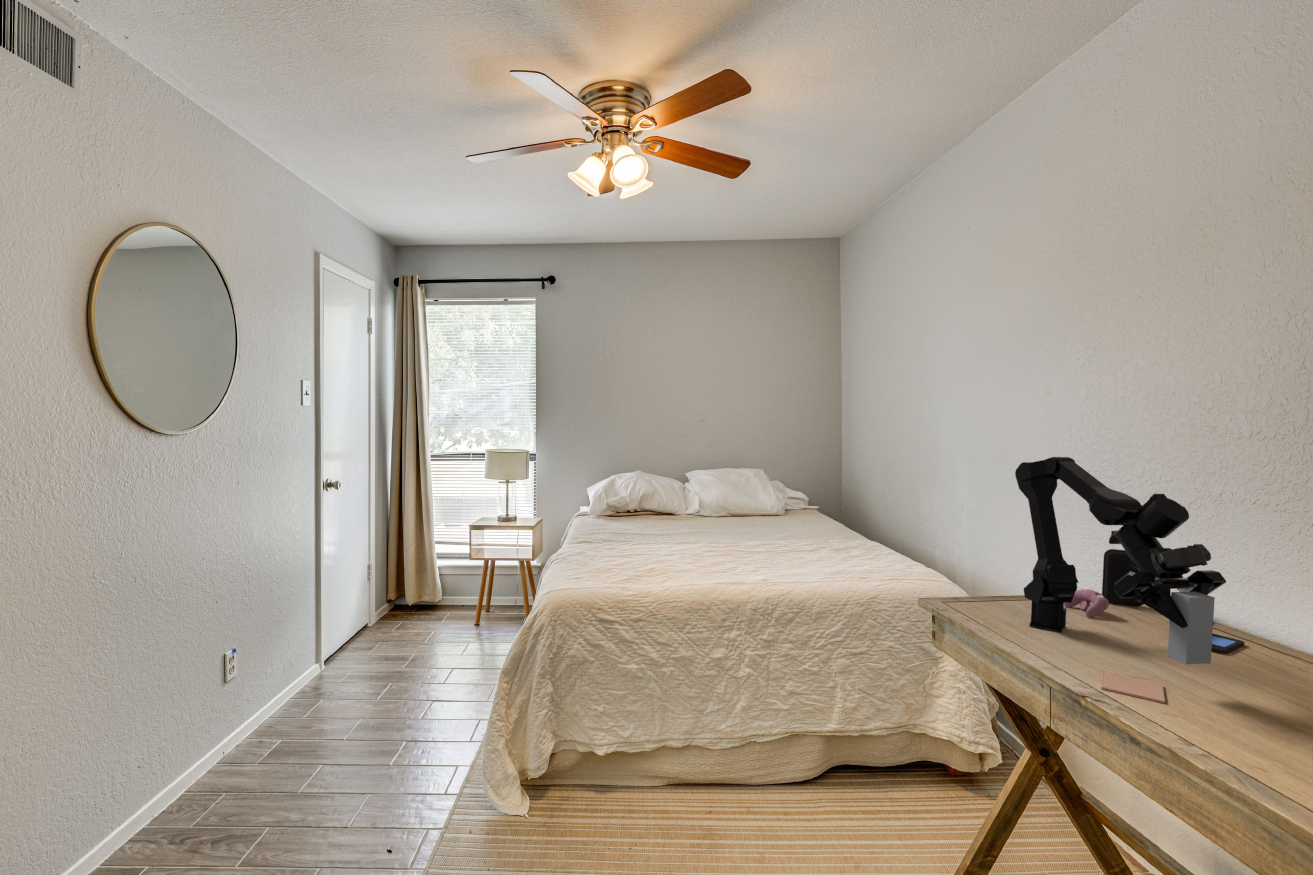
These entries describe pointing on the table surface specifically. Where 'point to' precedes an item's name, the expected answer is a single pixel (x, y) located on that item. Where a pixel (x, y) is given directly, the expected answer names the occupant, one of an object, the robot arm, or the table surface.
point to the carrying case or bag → (1117, 576)
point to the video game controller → (1085, 598)
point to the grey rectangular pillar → (1192, 628)
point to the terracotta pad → (1133, 687)
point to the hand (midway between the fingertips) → (1198, 626)
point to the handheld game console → (1225, 644)
